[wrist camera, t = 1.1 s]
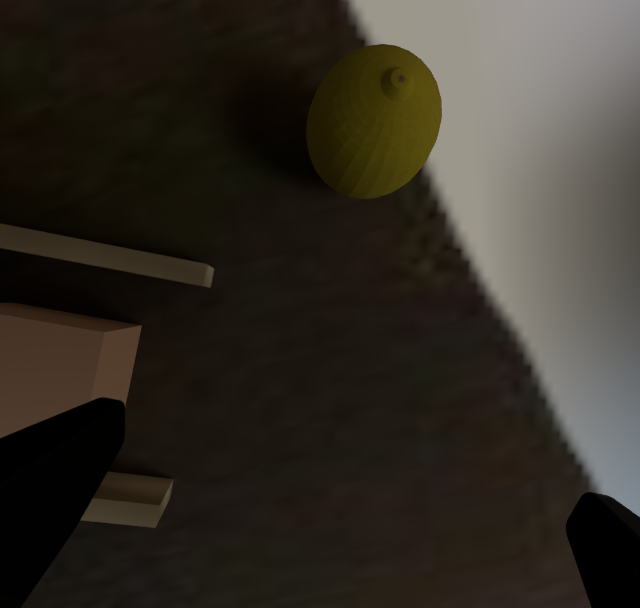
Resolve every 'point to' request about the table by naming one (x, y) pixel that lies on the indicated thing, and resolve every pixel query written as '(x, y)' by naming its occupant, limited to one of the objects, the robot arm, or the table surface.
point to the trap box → (119, 488)
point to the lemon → (373, 121)
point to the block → (59, 362)
